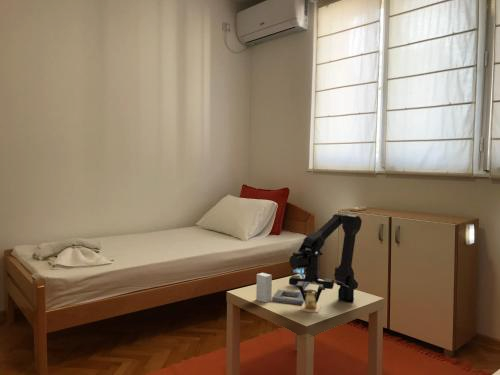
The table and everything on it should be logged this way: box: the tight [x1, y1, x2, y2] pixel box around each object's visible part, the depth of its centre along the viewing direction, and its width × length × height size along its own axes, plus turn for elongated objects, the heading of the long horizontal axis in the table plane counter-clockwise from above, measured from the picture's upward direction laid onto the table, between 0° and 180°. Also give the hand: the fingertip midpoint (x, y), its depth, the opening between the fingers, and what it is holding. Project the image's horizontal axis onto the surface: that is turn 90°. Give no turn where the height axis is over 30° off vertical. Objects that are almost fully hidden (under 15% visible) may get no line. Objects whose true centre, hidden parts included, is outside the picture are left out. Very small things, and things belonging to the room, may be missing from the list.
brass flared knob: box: [304, 288, 318, 309], centre depth 176 cm, size 6×6×7 cm
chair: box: [292, 268, 309, 287], centre depth 210 cm, size 8×8×12 cm
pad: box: [299, 302, 322, 314], centre depth 176 cm, size 8×8×1 cm
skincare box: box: [255, 272, 273, 304], centre depth 185 cm, size 6×4×12 cm
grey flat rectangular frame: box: [271, 289, 305, 306], centre depth 188 cm, size 14×12×2 cm
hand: (310, 301), depth 176 cm, fingers closed on brass flared knob, 5 cm apart
